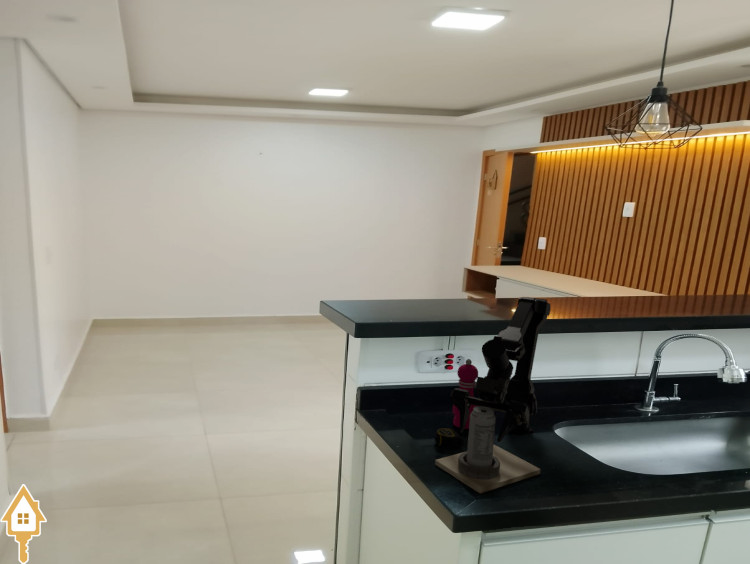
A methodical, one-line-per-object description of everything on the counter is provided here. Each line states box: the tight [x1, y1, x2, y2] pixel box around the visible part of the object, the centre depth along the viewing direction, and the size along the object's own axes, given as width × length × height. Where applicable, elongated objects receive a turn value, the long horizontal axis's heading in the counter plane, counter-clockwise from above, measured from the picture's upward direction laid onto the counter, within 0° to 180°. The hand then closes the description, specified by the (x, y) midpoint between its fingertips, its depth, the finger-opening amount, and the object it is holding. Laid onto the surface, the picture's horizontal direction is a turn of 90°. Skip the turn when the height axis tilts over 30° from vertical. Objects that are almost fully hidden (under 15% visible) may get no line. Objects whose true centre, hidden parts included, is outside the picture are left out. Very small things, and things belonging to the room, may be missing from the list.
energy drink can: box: [466, 406, 497, 467], centre depth 136 cm, size 6×6×15 cm
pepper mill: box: [452, 358, 479, 430], centre depth 166 cm, size 7×7×20 cm
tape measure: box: [434, 427, 465, 449], centre depth 152 cm, size 7×7×4 cm
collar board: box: [434, 444, 541, 494], centre depth 139 cm, size 20×16×4 cm
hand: (479, 436), depth 134 cm, fingers open, 9 cm apart
